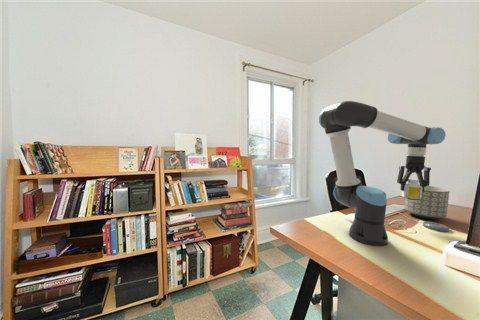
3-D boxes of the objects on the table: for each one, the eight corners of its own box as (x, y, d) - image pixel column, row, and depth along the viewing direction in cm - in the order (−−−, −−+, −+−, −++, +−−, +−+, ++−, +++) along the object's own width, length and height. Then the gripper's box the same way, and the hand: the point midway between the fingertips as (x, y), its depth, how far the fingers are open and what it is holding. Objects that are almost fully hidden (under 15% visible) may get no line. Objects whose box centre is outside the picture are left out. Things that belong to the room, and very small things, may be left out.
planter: (440, 215, 125) (443, 187, 123) (451, 225, 109) (455, 193, 107) (401, 209, 135) (404, 183, 133) (406, 217, 119) (409, 188, 117)
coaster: (430, 230, 101) (430, 227, 101) (418, 223, 111) (418, 220, 111) (454, 233, 99) (455, 230, 99) (440, 225, 108) (440, 222, 108)
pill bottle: (421, 202, 105) (424, 180, 104) (407, 201, 106) (410, 179, 105) (413, 198, 111) (416, 178, 110) (400, 197, 112) (402, 177, 111)
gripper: (398, 155, 105) (394, 197, 107) (443, 156, 100) (437, 201, 102) (391, 154, 112) (387, 193, 114) (432, 156, 108) (427, 197, 109)
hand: (411, 197), depth 108 cm, fingers closed on pill bottle, 6 cm apart
